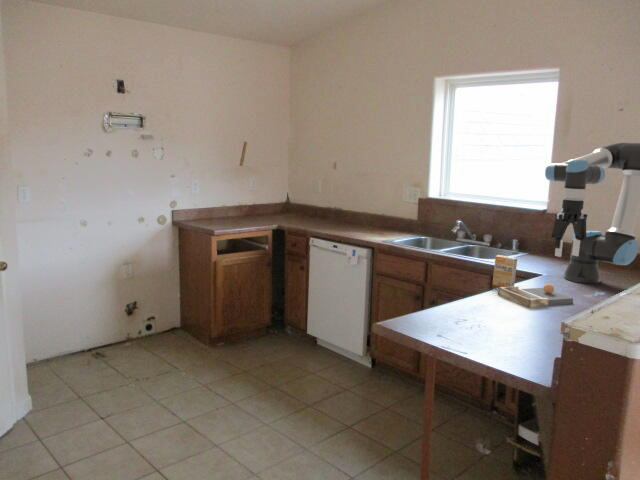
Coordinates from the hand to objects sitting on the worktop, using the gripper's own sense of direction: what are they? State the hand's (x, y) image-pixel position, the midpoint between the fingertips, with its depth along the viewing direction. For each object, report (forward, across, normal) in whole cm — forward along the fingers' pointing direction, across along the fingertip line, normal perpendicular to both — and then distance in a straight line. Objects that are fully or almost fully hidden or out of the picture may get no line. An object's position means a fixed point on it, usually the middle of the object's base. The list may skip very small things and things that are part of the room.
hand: (566, 255), depth 211 cm
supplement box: (+17, +13, -20) cm, 30 cm away
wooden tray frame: (+17, +20, 0) cm, 26 cm away
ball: (+15, +7, 0) cm, 17 cm away
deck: (+17, +8, 0) cm, 19 cm away
